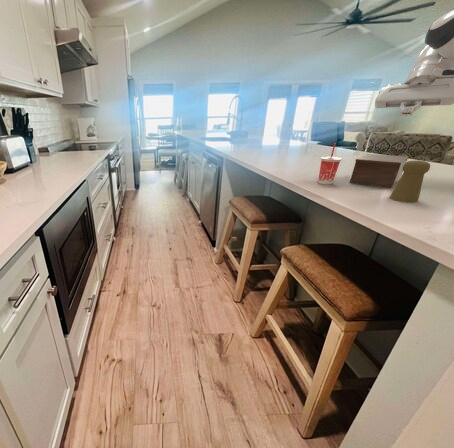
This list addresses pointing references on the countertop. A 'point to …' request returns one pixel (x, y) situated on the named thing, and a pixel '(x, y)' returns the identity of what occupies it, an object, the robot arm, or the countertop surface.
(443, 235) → the countertop surface
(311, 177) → the countertop surface
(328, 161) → the beverage cup
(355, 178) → the chest
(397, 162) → the lid
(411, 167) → the cork
